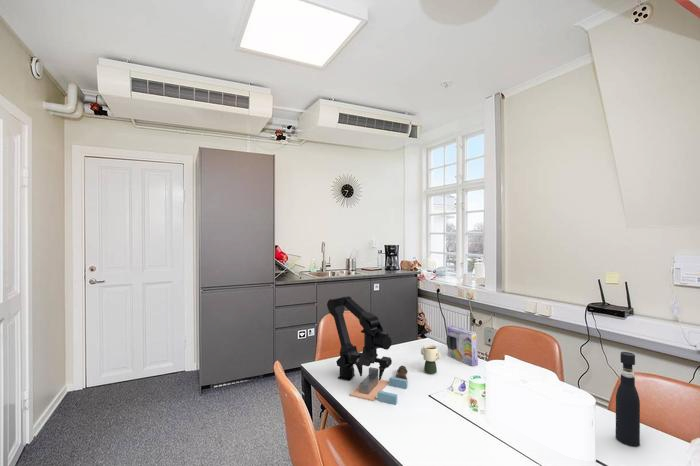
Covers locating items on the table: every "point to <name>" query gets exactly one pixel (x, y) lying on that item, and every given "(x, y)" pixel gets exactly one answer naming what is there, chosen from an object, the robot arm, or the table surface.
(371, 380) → the crook bar
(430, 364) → the character mug
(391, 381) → the vise jaws
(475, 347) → the cake pan box
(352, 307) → the robot arm
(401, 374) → the brown oblong lump
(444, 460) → the table surface
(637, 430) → the black bottle
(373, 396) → the mat
